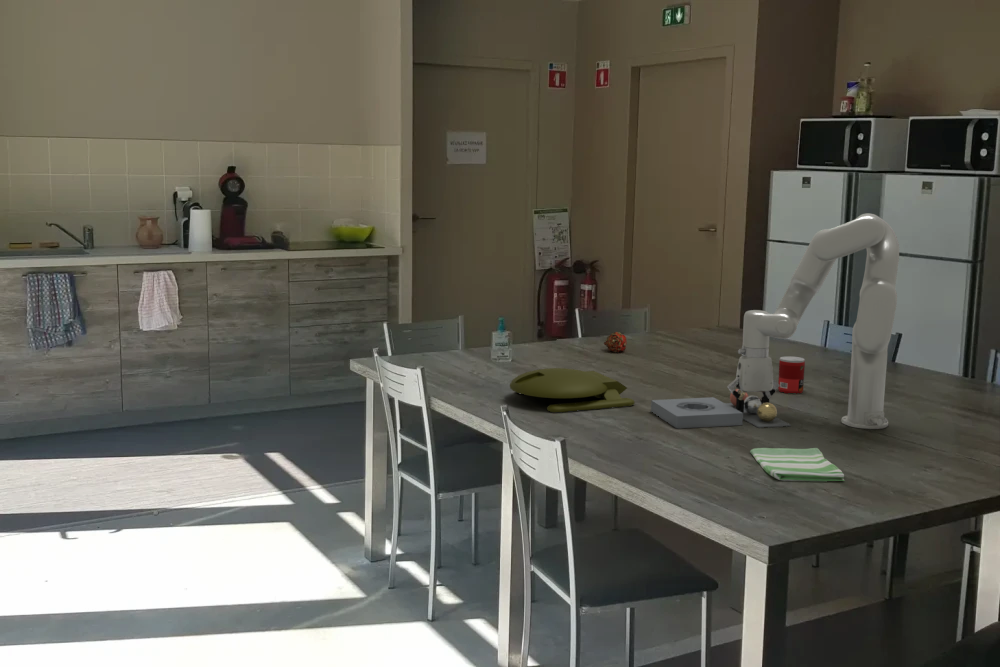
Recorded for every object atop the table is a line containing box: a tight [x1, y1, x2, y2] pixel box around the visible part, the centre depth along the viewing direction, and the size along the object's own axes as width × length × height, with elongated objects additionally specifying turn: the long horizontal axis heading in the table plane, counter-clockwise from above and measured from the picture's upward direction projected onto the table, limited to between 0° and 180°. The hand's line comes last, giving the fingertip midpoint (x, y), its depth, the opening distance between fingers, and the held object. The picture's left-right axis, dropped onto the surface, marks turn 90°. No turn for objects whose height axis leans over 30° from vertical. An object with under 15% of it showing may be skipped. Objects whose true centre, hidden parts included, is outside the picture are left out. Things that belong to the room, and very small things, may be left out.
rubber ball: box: [729, 388, 749, 406], centre depth 309 cm, size 6×6×6 cm
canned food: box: [777, 356, 806, 395], centre depth 332 cm, size 8×8×11 cm
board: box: [650, 396, 743, 429], centre depth 297 cm, size 20×20×4 cm
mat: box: [724, 402, 792, 429], centre depth 301 cm, size 28×10×1 cm, turn 13°
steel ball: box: [744, 395, 762, 414], centre depth 301 cm, size 6×6×6 cm
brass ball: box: [757, 402, 778, 422], centre depth 292 cm, size 6×6×6 cm
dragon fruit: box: [603, 331, 628, 353], centre depth 401 cm, size 8×8×12 cm
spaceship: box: [509, 367, 636, 413], centre depth 319 cm, size 35×31×10 cm
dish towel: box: [749, 447, 845, 482], centre depth 250 cm, size 18×23×3 cm
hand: (752, 411), depth 301 cm, fingers open, 7 cm apart
